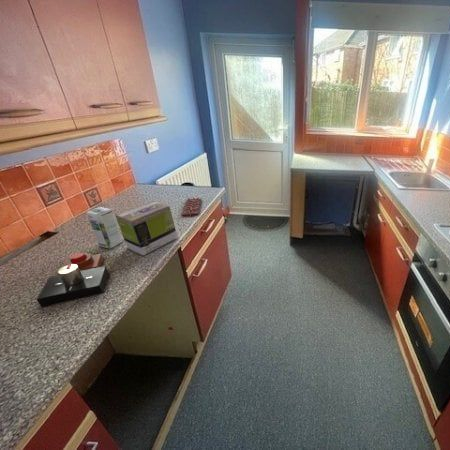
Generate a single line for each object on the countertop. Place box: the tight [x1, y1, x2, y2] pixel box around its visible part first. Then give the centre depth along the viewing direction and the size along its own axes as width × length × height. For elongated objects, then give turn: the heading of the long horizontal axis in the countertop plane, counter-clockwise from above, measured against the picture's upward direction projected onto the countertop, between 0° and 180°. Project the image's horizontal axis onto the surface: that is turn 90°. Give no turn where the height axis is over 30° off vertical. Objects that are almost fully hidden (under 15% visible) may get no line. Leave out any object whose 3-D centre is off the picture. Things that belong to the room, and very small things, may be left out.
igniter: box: [57, 252, 104, 275], centre depth 83 cm, size 10×8×4 cm
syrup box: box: [86, 206, 124, 250], centre depth 94 cm, size 6×6×14 cm
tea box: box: [115, 200, 178, 256], centre depth 95 cm, size 15×10×15 cm, turn 152°
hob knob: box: [57, 264, 83, 286], centre depth 73 cm, size 4×4×5 cm
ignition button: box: [69, 251, 86, 263], centre depth 82 cm, size 4×4×2 cm
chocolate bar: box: [181, 197, 202, 217], centre depth 128 cm, size 7×19×2 cm, turn 15°
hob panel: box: [36, 265, 109, 308], centre depth 75 cm, size 14×10×3 cm
